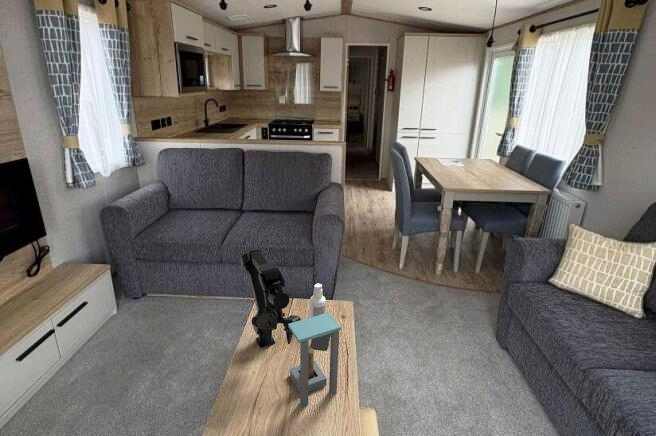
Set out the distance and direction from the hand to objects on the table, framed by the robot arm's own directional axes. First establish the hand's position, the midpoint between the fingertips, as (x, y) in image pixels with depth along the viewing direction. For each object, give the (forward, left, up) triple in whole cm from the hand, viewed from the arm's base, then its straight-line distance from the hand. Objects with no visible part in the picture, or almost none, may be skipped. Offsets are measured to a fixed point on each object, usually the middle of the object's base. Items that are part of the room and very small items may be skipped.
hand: (278, 342), depth 140 cm
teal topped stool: (+16, +7, -11) cm, 21 cm away
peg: (+11, +7, -11) cm, 17 cm away
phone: (-8, +22, -12) cm, 26 cm away
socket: (+11, +7, -11) cm, 17 cm away
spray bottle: (-20, +26, -11) cm, 35 cm away
